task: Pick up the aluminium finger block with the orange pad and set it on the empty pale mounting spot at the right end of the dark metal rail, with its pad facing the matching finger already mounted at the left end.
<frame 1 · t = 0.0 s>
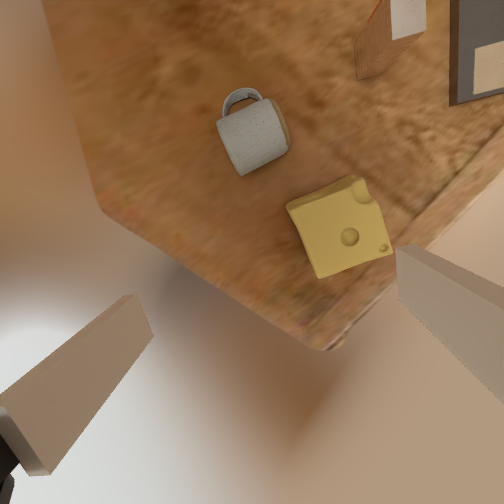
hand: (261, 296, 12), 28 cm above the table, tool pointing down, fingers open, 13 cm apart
loose finger: (367, 60, 31), on the table
cheese: (325, 219, 38), on the table
ceramic mug: (250, 133, 36), on the table
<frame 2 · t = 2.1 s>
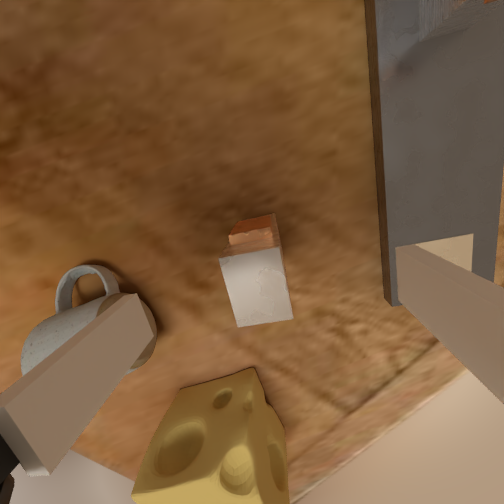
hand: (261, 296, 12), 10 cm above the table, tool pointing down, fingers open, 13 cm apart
loose finger: (262, 238, 21), on the table
cheese: (232, 407, 29), on the table
ceramic mug: (114, 307, 25), on the table
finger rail: (429, 153, 18), on the table
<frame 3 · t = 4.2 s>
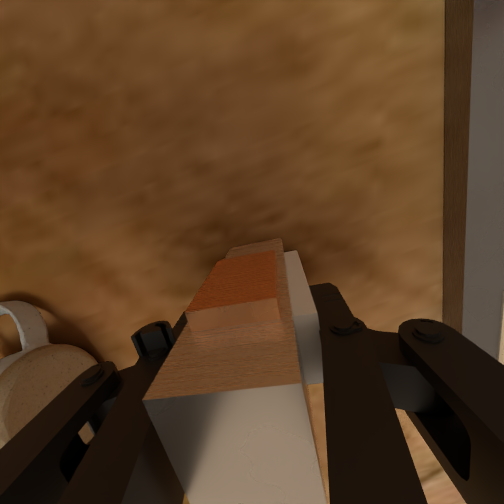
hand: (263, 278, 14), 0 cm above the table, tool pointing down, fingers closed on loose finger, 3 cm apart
loose finger: (262, 274, 14), on the table, touching gripper
ceramic mug: (52, 356, 18), on the table
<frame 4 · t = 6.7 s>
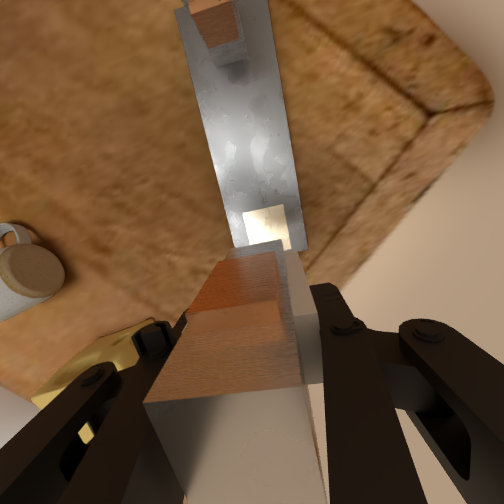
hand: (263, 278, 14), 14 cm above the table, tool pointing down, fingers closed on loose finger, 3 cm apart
loose finger: (263, 275, 14), point 14 cm above the table, touching gripper
cheese: (142, 355, 35), on the table
ceramic mug: (35, 261, 32), on the table
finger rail: (250, 145, 25), on the table
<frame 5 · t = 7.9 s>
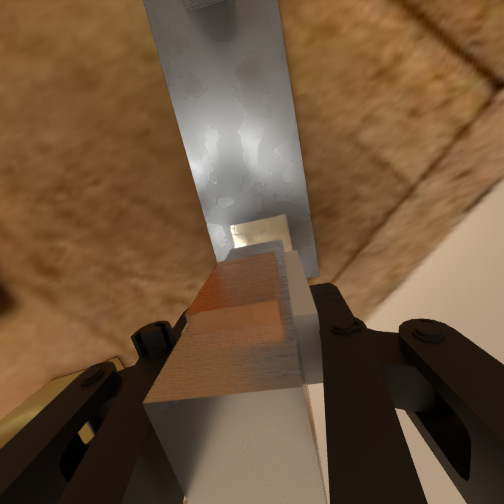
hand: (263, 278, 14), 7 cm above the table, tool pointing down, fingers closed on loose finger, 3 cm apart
loose finger: (263, 275, 14), point 6 cm above the table, touching gripper
cheese: (108, 399, 28), on the table
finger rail: (240, 132, 18), on the table
when the fingers open (3 cm above the table, at t = 9.2 s): loose finger drops 1 cm, resting on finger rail.
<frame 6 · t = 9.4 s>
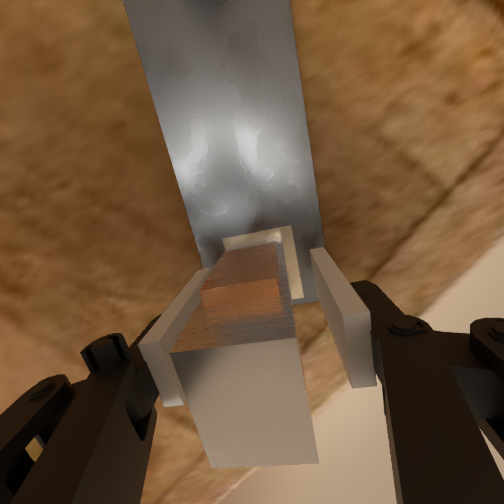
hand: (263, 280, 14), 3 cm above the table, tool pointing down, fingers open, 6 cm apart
loose finger: (263, 267, 15), point 2 cm above the table, touching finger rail
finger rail: (234, 124, 15), on the table
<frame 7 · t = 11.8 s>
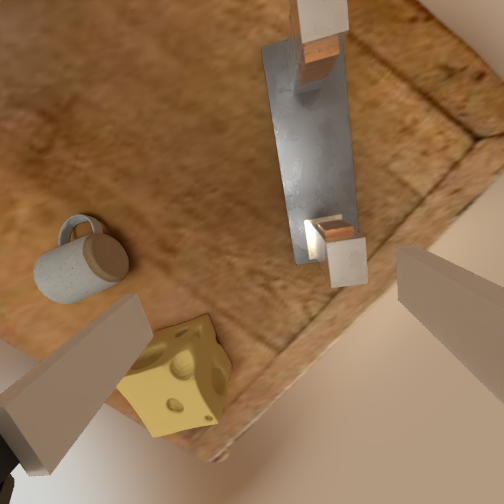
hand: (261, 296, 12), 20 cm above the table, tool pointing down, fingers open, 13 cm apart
loose finger: (324, 236, 29), point 2 cm above the table, touching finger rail
cheese: (194, 347, 38), on the table
ceramic mug: (100, 250, 35), on the table
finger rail: (313, 162, 28), on the table
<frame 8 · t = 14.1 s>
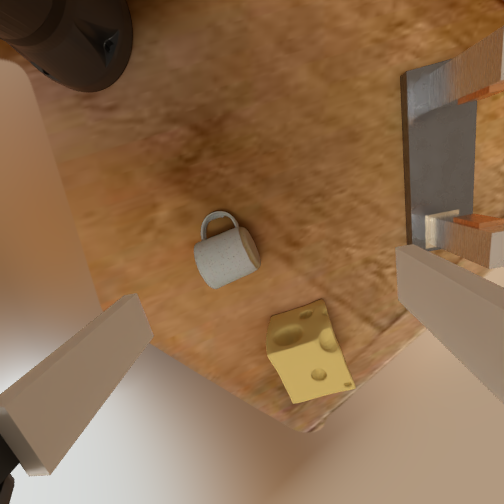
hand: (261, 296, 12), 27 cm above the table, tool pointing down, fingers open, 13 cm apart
loose finger: (441, 228, 34), point 2 cm above the table, touching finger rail
cheese: (304, 330, 43), on the table
ceramic mug: (227, 242, 40), on the table
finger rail: (434, 165, 33), on the table
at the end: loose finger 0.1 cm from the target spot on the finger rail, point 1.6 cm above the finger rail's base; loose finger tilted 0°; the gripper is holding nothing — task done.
